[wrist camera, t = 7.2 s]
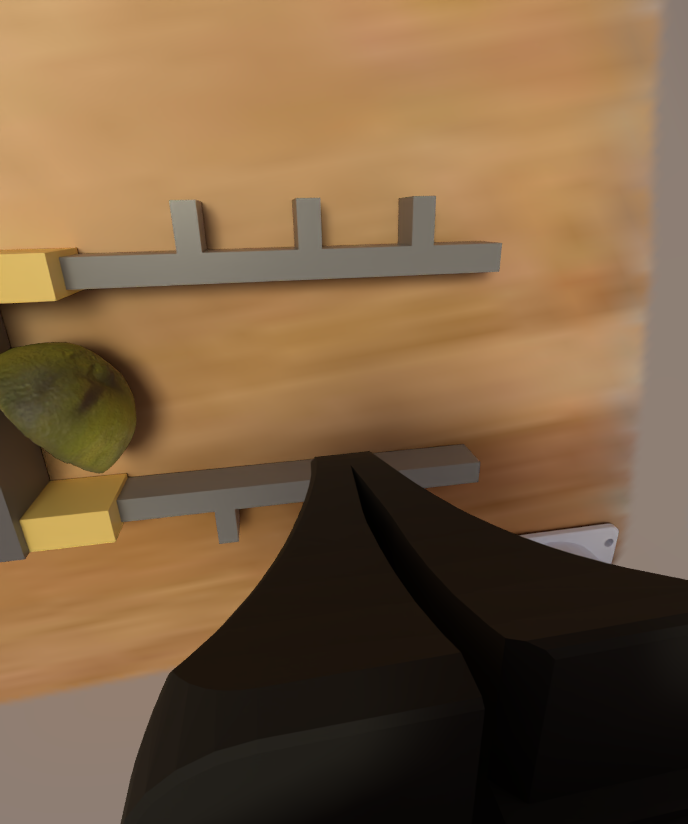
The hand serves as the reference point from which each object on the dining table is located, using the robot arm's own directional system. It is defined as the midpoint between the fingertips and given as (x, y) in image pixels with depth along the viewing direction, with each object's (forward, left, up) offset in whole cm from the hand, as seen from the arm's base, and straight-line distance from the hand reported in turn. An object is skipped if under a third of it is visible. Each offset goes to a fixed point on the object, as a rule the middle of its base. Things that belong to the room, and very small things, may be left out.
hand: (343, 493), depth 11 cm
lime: (0, +9, -10) cm, 13 cm away
